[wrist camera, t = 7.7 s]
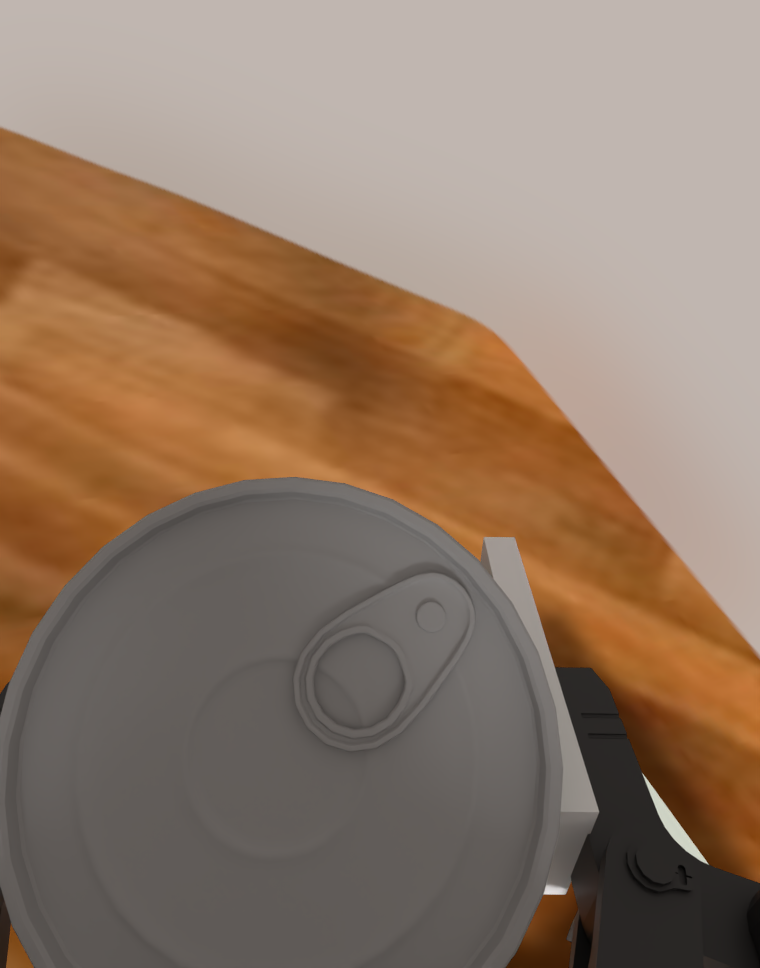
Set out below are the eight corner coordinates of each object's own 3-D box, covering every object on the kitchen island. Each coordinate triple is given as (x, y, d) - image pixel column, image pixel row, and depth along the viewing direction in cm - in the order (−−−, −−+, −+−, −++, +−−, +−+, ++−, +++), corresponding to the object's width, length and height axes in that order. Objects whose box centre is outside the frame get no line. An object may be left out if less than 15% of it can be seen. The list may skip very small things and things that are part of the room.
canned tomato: (320, 863, 17) (211, 1284, 6) (170, 657, 19) (-128, 723, 8) (511, 686, 18) (689, 795, 8) (355, 504, 20) (317, 375, 9)
